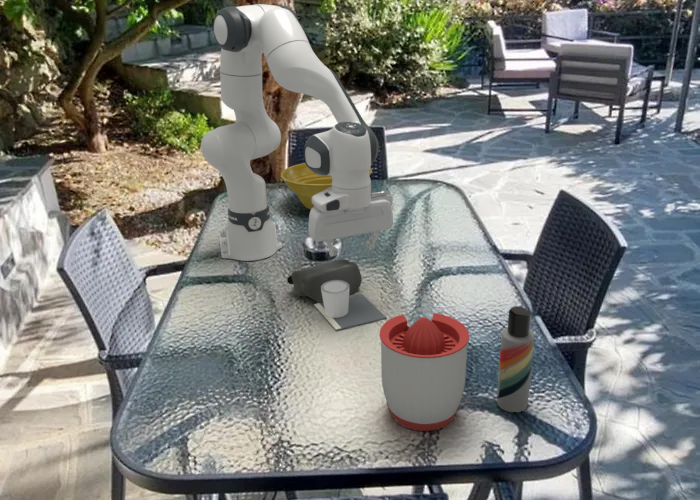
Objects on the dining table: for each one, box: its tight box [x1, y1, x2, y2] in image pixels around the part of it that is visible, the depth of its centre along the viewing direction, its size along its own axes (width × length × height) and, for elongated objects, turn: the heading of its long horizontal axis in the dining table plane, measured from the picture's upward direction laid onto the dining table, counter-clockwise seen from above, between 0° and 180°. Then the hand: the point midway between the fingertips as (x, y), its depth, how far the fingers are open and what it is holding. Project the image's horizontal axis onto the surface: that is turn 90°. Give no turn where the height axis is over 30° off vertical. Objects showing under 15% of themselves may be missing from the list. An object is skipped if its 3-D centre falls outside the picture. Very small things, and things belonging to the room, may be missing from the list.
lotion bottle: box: [496, 305, 535, 413], centre depth 116 cm, size 6×6×20 cm
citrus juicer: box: [379, 312, 470, 432], centre depth 115 cm, size 16×17×20 cm
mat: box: [313, 293, 387, 332], centre depth 155 cm, size 14×13×1 cm
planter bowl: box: [280, 162, 373, 211], centre depth 226 cm, size 32×32×13 cm
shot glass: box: [321, 280, 350, 318], centre depth 152 cm, size 7×7×7 cm
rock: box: [286, 258, 363, 303], centre depth 164 cm, size 18×11×8 cm, turn 124°
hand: (351, 251), depth 149 cm, fingers open, 8 cm apart
